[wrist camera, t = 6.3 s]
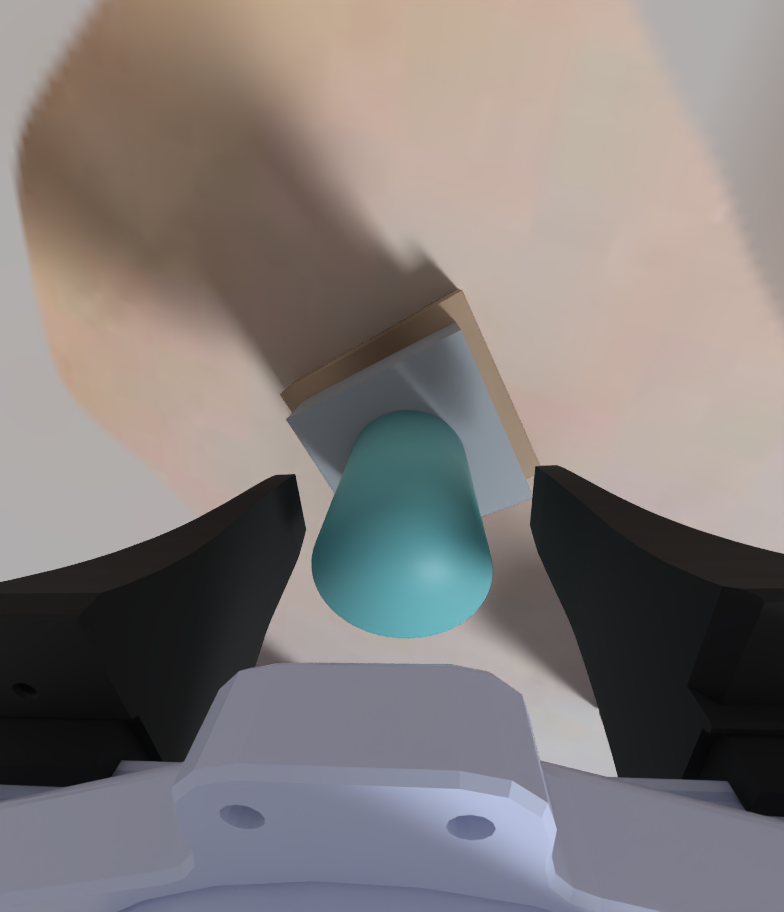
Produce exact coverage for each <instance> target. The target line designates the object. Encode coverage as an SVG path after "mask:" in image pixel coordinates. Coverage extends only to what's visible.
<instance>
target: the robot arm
mask: <svg viewBox="0 0 784 912" xmlns="http://www.w3.org/2000/svg"><path fill="white" fill-rule="evenodd" d="M530 527H531V530H532V534H533V537H534V541H535V544H536V547H537V551H538V554H539V556H540V558H541V561H542V563H543V565H544V567H545V569H546V572H547V574H548V576H549V578H550V580H551V582H552V585H553V587H554V589H555V591H556V593H557V595H558V597H559V600H560V602H561V604H562V606H563V608H564V610H565V613H566V615H567V617H568V619H569V622H570V624H571V626H572V629H573V631H574V634H575V637H576V640H577V643H578V646H579V649H580V652H581V655H582V658H583V661H584V664H585V666H586V670H587V673H588V676H589V679H590V682H591V685H592V689H593V692H594V695H595V698H596V701H597V705H598V708H599V711H600V715H601V718H602V722H603V725H604V729H605V732H606V735H607V739H608V742H609V746H610V749H611V753H612V756H613V760H614V764H615V767H616V771H617V775H618V777H605V776H601V775H597V774H593V773H589V772H585V771H581V770H577V769H573V768H569V767H565V766H561V765H557V764H553V763H549V762H544V761H540V759H539V755H538V751H537V747H536V742H535V738H534V734H533V730H532V726H531V722H530V719H529V715H528V712H527V709H526V706H525V703H524V700H523V696H522V694H521V693H519V692H518V691H516V690H515V689H513V688H512V687H511V686H509V685H508V684H506V683H505V682H503V681H502V680H501V679H499V678H498V677H496V676H495V675H493V674H492V673H490V672H488V671H483V670H478V669H473V668H467V667H462V666H457V665H452V664H376V663H274V664H269V665H264V666H258V667H255V665H256V662H257V659H258V656H259V653H260V650H261V647H262V643H263V640H264V637H265V634H266V631H267V629H268V626H269V624H270V621H271V618H272V616H273V614H274V612H275V609H276V607H277V605H278V603H279V601H280V598H281V596H282V594H283V592H284V589H285V587H286V585H287V583H288V580H289V578H290V576H291V574H292V571H293V569H294V567H295V564H296V562H297V560H298V557H299V554H300V550H301V547H302V543H303V540H304V536H305V532H306V527H305V522H304V517H303V512H302V506H301V501H300V496H299V491H298V486H297V481H296V476H295V474H288V475H275V476H272V477H270V478H268V479H266V480H264V481H262V482H261V483H259V484H257V485H255V486H254V487H252V488H250V489H248V490H247V491H245V492H243V493H242V494H240V495H238V496H237V497H235V498H233V499H231V500H230V501H228V502H226V503H225V504H223V505H221V506H219V507H217V508H215V509H213V510H212V511H210V512H208V513H206V514H204V515H202V516H201V517H199V518H197V519H195V520H193V521H191V522H189V523H187V524H185V525H182V526H180V527H178V528H176V529H174V530H171V531H169V532H167V533H164V534H162V535H160V536H157V537H155V538H152V539H150V540H147V541H144V542H142V543H139V544H136V545H134V546H131V547H128V548H125V549H123V550H120V551H117V552H114V553H111V554H108V555H105V556H101V557H98V558H95V559H92V560H88V561H85V562H82V563H78V564H75V565H71V566H67V567H63V568H59V569H56V570H52V571H47V572H43V573H39V574H34V575H30V576H26V577H21V578H17V579H13V580H8V581H4V582H0V912H784V554H782V553H778V552H773V551H769V550H765V549H761V548H757V547H753V546H750V545H746V544H742V543H739V542H735V541H732V540H729V539H725V538H722V537H719V536H716V535H712V534H709V533H706V532H703V531H700V530H697V529H694V528H691V527H688V526H685V525H683V524H680V523H677V522H675V521H672V520H670V519H667V518H664V517H662V516H659V515H657V514H654V513H652V512H650V511H647V510H645V509H643V508H641V507H639V506H637V505H634V504H632V503H630V502H628V501H626V500H624V499H622V498H620V497H618V496H616V495H614V494H612V493H610V492H608V491H606V490H604V489H602V488H600V487H598V486H597V485H595V484H593V483H591V482H589V481H587V480H586V479H584V478H582V477H580V476H578V475H576V474H575V473H573V472H571V471H569V470H567V469H565V468H562V467H560V466H557V465H552V466H535V475H534V486H533V497H532V509H531V520H530Z"/></svg>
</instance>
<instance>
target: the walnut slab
mask: <svg viewBox="0 0 784 912" xmlns="http://www.w3.org/2000/svg"><path fill="white" fill-rule="evenodd" d="M453 322H456V323H457V324H458V326H459V327H460V329H461V330H462V333H463V335H464V337H465V339H466V342H467V344H468V346H469V349H470V351H471V353H472V356H473V358H474V360H475V363H476V365H477V367H478V370H479V372H480V374H481V376H482V379H483V381H484V383H485V386H486V388H487V390H488V393H489V395H490V397H491V400H492V402H493V404H494V407H495V409H496V411H497V414H498V416H499V418H500V420H501V423H502V425H503V427H504V430H505V432H506V434H507V437H508V439H509V441H510V444H511V446H512V448H513V451H514V453H515V455H516V457H517V460H518V462H519V464H520V467H521V469H522V471H523V474H524V476H525V478H526V479H527V478H529V477H531V476H534V475H535V466H540V464H539V461H538V459H537V457H536V455H535V452H534V450H533V448H532V446H531V443H530V441H529V439H528V437H527V434H526V432H525V430H524V428H523V426H522V423H521V421H520V419H519V417H518V414H517V412H516V410H515V408H514V405H513V403H512V401H511V399H510V396H509V394H508V392H507V390H506V387H505V385H504V383H503V381H502V378H501V376H500V374H499V372H498V369H497V367H496V365H495V363H494V360H493V358H492V356H491V354H490V351H489V349H488V347H487V345H486V343H485V340H484V338H483V336H482V334H481V331H480V329H479V327H478V325H477V322H476V320H475V318H474V316H473V313H472V311H471V309H470V307H469V304H468V302H467V300H466V298H465V295H464V293H463V291H462V290H460V289H457V290H455V291H453V292H451V293H450V294H448V295H446V296H444V297H443V298H441V299H439V300H437V301H436V302H434V303H432V304H430V305H429V306H427V307H425V308H423V309H422V310H420V311H418V312H417V313H415V314H413V315H411V316H410V317H408V318H406V319H404V320H403V321H401V322H399V323H397V324H396V325H394V326H392V327H390V328H389V329H387V330H385V331H383V332H382V333H380V334H378V335H376V336H375V337H373V338H371V339H369V340H368V341H366V342H364V343H363V344H361V345H359V346H357V347H356V348H354V349H352V350H350V351H349V352H347V353H345V354H343V355H342V356H340V357H338V358H336V359H335V360H333V361H331V362H329V363H328V364H326V365H324V366H322V367H321V368H319V369H317V370H315V371H314V372H312V373H310V374H308V375H307V376H305V377H303V378H302V379H300V380H298V381H296V382H295V383H293V384H292V385H291V386H289V387H288V388H287V389H286V390H285V391H283V392H282V393H281V394H280V395H281V397H282V398H283V400H284V401H285V403H286V404H287V406H288V407H289V409H290V410H291V412H292V413H293V412H294V410H295V409H296V408H297V407H298V406H299V405H300V404H301V403H302V402H303V401H304V400H305V399H307V398H309V397H311V396H313V395H315V394H317V393H319V392H321V391H323V390H324V389H326V388H328V387H330V386H332V385H334V384H336V383H338V382H340V381H342V380H344V379H346V378H348V377H349V376H351V375H353V374H355V373H357V372H359V371H361V370H363V369H365V368H367V367H369V366H371V365H373V364H374V363H376V362H378V361H380V360H382V359H384V358H386V357H388V356H390V355H392V354H394V353H396V352H398V351H399V350H401V349H403V348H405V347H407V346H409V345H411V344H413V343H415V342H417V341H419V340H421V339H423V338H424V337H426V336H428V335H430V334H432V333H434V332H436V331H438V330H440V329H442V328H444V327H446V326H448V325H450V324H451V323H453Z"/></svg>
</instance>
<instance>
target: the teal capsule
mask: <svg viewBox="0 0 784 912" xmlns="http://www.w3.org/2000/svg"><path fill="white" fill-rule="evenodd" d="M312 574H313V579H314V582H315V585H316V587H317V589H318V591H319V593H320V595H321V597H322V598H323V599H324V601H325V602H326V604H327V605H328V606H329V607H330V608H331V609H332V610H333V611H334V612H335V613H336V614H337V615H339V616H340V617H341V618H343V619H344V620H345V621H347V622H348V623H350V624H352V625H354V626H356V627H358V628H360V629H362V630H365V631H367V632H370V633H373V634H377V635H381V636H386V637H393V638H421V637H427V636H432V635H436V634H439V633H442V632H445V631H447V630H450V629H452V628H454V627H456V626H458V625H460V624H461V623H463V622H464V621H465V620H467V619H468V618H469V617H470V616H472V615H473V614H474V613H475V612H476V611H477V609H478V608H479V607H480V606H481V605H482V603H483V601H484V600H485V598H486V596H487V594H488V592H489V590H490V586H491V582H492V574H493V567H492V559H491V555H490V551H489V547H488V543H487V539H486V535H485V531H484V527H483V523H482V518H481V514H480V510H479V506H478V502H477V498H476V494H475V490H474V486H473V482H472V478H471V474H470V470H469V465H468V461H467V457H466V453H465V449H464V446H463V444H462V442H461V440H460V438H459V436H458V435H457V434H456V432H455V431H454V430H453V429H452V428H451V427H450V426H449V425H448V424H447V423H445V422H444V421H443V420H441V419H439V418H437V417H436V416H434V415H431V414H428V413H425V412H421V411H414V410H401V411H395V412H391V413H388V414H385V415H383V416H380V417H379V418H377V419H375V420H373V421H372V422H371V423H370V424H368V425H367V426H366V427H365V428H364V429H363V430H362V432H361V433H360V435H359V436H358V438H357V440H356V442H355V444H354V446H353V449H352V451H351V454H350V456H349V459H348V462H347V464H346V467H345V469H344V472H343V474H342V477H341V479H340V482H339V484H338V487H337V490H336V492H335V495H334V497H333V500H332V502H331V505H330V507H329V510H328V512H327V515H326V517H325V520H324V523H323V525H322V528H321V530H320V533H319V535H318V538H317V540H316V543H315V546H314V549H313V554H312Z"/></svg>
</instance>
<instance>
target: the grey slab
mask: <svg viewBox="0 0 784 912" xmlns="http://www.w3.org/2000/svg"><path fill="white" fill-rule="evenodd" d="M401 410H414V411H421V412H425V413H428V414H431V415H434V416H436V417H437V418H439V419H441V420H443V421H444V422H445V423H447V424H448V425H449V426H450V427H451V428H452V429H453V430H454V431H455V432H456V434H457V435H458V436H459V438H460V440H461V442H462V444H463V446H464V449H465V453H466V457H467V461H468V465H469V470H470V474H471V478H472V482H473V486H474V490H475V494H476V498H477V502H478V506H479V510H480V514H481V517H483V516H486V515H488V514H491V513H494V512H496V511H499V510H502V509H504V508H507V507H510V506H512V505H515V504H517V503H520V502H523V501H525V500H528V499H531V498H532V497H533V494H532V492H531V490H530V488H529V485H528V483H527V481H526V478H525V476H524V474H523V471H522V469H521V467H520V464H519V462H518V460H517V457H516V455H515V453H514V451H513V448H512V446H511V444H510V441H509V439H508V437H507V434H506V432H505V430H504V427H503V425H502V423H501V420H500V418H499V416H498V414H497V411H496V409H495V407H494V404H493V402H492V400H491V397H490V395H489V393H488V390H487V388H486V386H485V383H484V381H483V379H482V376H481V374H480V372H479V370H478V367H477V365H476V363H475V360H474V358H473V356H472V353H471V351H470V349H469V346H468V344H467V342H466V339H465V337H464V335H463V333H462V330H461V329H460V327H459V326H458V324H457V323H456V322H453V323H451V324H450V325H448V326H446V327H444V328H442V329H440V330H438V331H436V332H434V333H432V334H430V335H428V336H426V337H424V338H423V339H421V340H419V341H417V342H415V343H413V344H411V345H409V346H407V347H405V348H403V349H401V350H399V351H398V352H396V353H394V354H392V355H390V356H388V357H386V358H384V359H382V360H380V361H378V362H376V363H374V364H373V365H371V366H369V367H367V368H365V369H363V370H361V371H359V372H357V373H355V374H353V375H351V376H349V377H348V378H346V379H344V380H342V381H340V382H338V383H336V384H334V385H332V386H330V387H328V388H326V389H324V390H323V391H321V392H319V393H317V394H315V395H313V396H311V397H309V398H307V399H305V400H304V401H303V402H302V403H301V404H300V405H299V406H298V407H297V408H296V409H295V410H294V412H293V413H292V414H291V415H290V416H289V417H288V418H287V419H286V420H287V421H288V423H289V425H290V426H291V428H292V429H293V431H294V432H295V434H296V435H297V437H298V438H299V440H300V441H301V443H302V444H303V446H304V447H305V449H306V451H307V452H308V454H309V455H310V457H311V458H312V460H313V461H314V463H315V464H316V466H317V467H318V469H319V470H320V472H321V474H322V475H323V477H324V478H325V480H326V481H327V483H328V484H329V486H330V487H331V489H332V490H333V492H334V493H335V492H336V490H337V487H338V484H339V482H340V479H341V477H342V474H343V472H344V469H345V467H346V464H347V462H348V459H349V456H350V454H351V451H352V449H353V446H354V444H355V442H356V440H357V438H358V436H359V435H360V433H361V432H362V430H363V429H364V428H365V427H366V426H367V425H368V424H370V423H371V422H372V421H373V420H375V419H377V418H379V417H380V416H383V415H385V414H388V413H391V412H395V411H401Z"/></svg>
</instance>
